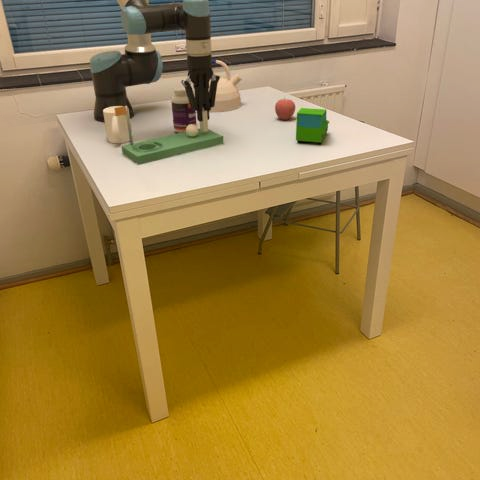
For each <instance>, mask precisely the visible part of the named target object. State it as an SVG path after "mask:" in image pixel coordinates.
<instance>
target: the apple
mask: <svg viewBox="0 0 480 480" xmlns="http://www.w3.org/2000/svg"><path fill="white" fill-rule="evenodd" d="M274 111H275V114H276V116H277V118H279V119H281V120H283V121H285V120H290V119H291V118H292V117H293V116H294V114H295V112H296V103H295V102H294V101H293V100H291V99H289V98H285V97H284V98H282V99H278V101H276V103H275V106H274Z"/></svg>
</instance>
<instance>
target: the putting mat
mask: <svg viewBox="0 0 480 480" xmlns="http://www.w3.org/2000/svg"><path fill="white" fill-rule="evenodd" d="M223 144H224V135H222V134H219V133H218V132H215V131H213V130H211V129H210V128H208V131H206V132H204V131H202V130H200V128H198V133H197V135H196V136H194V137H190V136H188V135H187V133H186V132H182V133H178V132H176V133H173V134H169V135H164V136H160V137H159V136H158V137H155V138H150V139H146V140H142V141H137V142H133V145H130V143H127V144H123V145H121V152H122V154H123V155H124V156H125V157H126V158H128V159H129V160H131V161H132V162H134V163H135V164H137V165H142V164H147V163H151V162H154V161H158V160H162V159H167V158H171V157H175V156H179V155H183V154H187V153H191V152H195V151H199V150H203V149H207V148H211V147H214V146H219V145H223Z"/></svg>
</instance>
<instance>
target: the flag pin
mask: <svg viewBox="0 0 480 480" xmlns="http://www.w3.org/2000/svg"><path fill="white" fill-rule="evenodd" d="M114 109H115V115H116V116H121V115H126V119H127V126H128V132H129V139H130V141H129V144H130V145H133V143H134V141H133V139H132V136H133V134H132V135H131V129H132V127H131V128H130V122H131V120H130V121H129V114H128V107H127V106H123V107H117V108H114Z"/></svg>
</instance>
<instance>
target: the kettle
mask: <svg viewBox="0 0 480 480" xmlns="http://www.w3.org/2000/svg"><path fill="white" fill-rule="evenodd" d="M213 64H219V65H220V66H221V67H223V68H224V70H225V76H224V77H223V76H221V75H219V76H220V79H219V81H218V84H217V91H216V98H215V104H214V107H212V108H211V110H210V111H209V113H222V112H230V111H235V110H238V109H239V108H240V107H242V100H241V99H242V98H241V93H240V92H239V89H238V87H237V85H238V84H239V83H240V82H241V81H242V80H243V79H242V77H241V76H240V74H239V73H235V74H234V75H233V76H232V77H231V70H230V68H229V66H228V65H227V64H226V63H225V62H223V60H218V59H212V65H213ZM210 82H211V79H210ZM210 82H209V88H210ZM193 93H194V97H195V90H193ZM203 110H204V109H203Z"/></svg>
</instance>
